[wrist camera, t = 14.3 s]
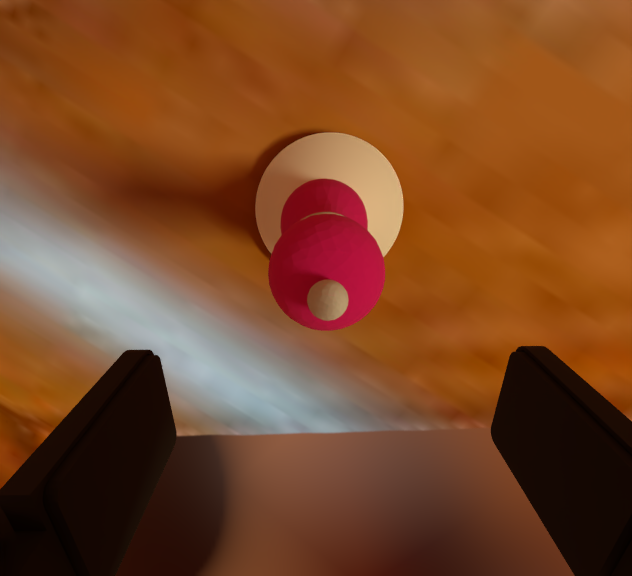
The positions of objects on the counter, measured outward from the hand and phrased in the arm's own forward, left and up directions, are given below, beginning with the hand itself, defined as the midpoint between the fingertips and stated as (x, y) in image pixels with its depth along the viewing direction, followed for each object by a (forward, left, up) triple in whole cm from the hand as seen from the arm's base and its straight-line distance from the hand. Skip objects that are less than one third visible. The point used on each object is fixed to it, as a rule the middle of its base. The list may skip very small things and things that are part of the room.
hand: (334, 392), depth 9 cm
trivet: (0, 0, -27) cm, 27 cm away
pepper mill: (0, 0, -25) cm, 25 cm away
